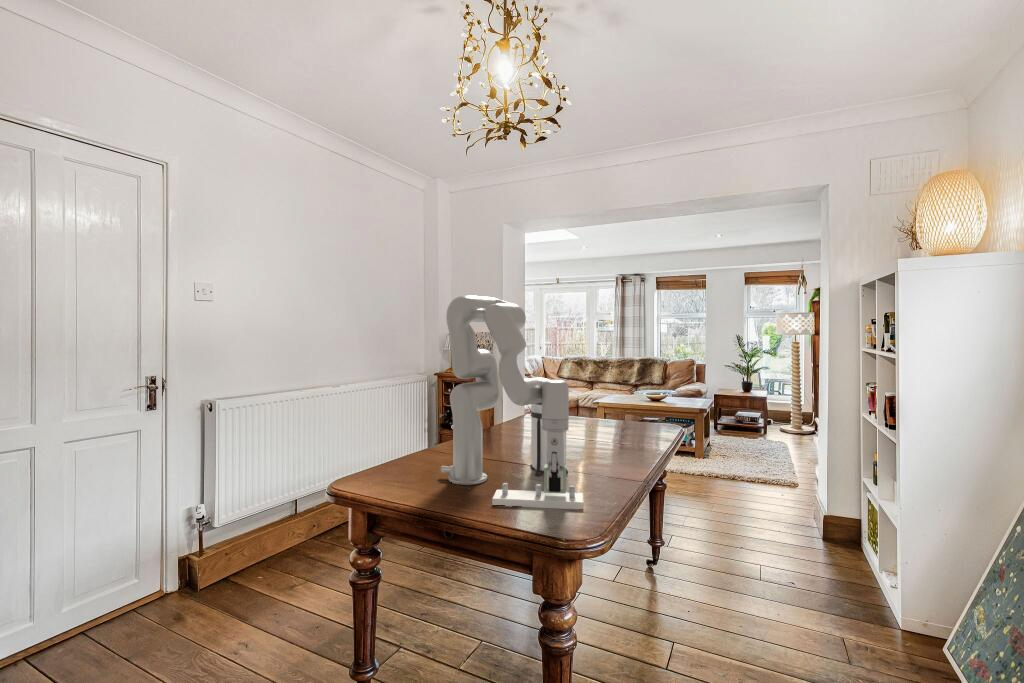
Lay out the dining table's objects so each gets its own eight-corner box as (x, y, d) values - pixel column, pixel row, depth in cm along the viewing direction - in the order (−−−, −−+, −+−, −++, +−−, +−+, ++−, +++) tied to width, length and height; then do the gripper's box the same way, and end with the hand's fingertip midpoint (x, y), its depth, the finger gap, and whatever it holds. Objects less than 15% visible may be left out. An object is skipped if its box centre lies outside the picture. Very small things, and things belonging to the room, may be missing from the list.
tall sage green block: (544, 492, 139) (544, 467, 139) (544, 488, 143) (545, 464, 143) (565, 493, 138) (565, 468, 138) (566, 489, 142) (566, 465, 142)
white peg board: (492, 505, 139) (492, 487, 139) (496, 496, 147) (496, 479, 147) (583, 509, 136) (583, 491, 136) (582, 499, 144) (582, 482, 144)
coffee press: (580, 470, 174) (580, 384, 174) (552, 480, 162) (553, 388, 162) (541, 461, 186) (541, 381, 185) (513, 470, 174) (513, 384, 173)
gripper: (568, 430, 132) (567, 499, 132) (569, 419, 148) (568, 480, 148) (539, 429, 133) (539, 498, 133) (543, 418, 149) (543, 479, 149)
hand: (555, 488), depth 141 cm, fingers closed on tall sage green block, 3 cm apart
